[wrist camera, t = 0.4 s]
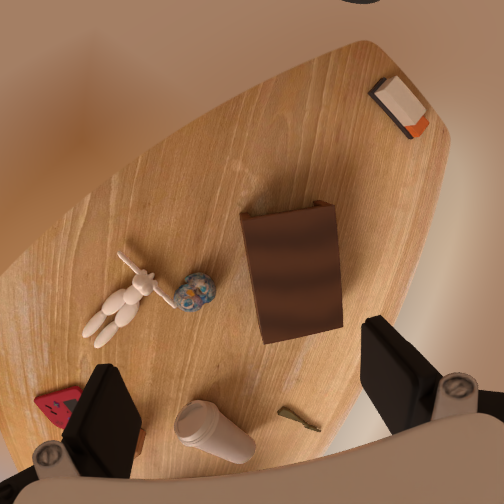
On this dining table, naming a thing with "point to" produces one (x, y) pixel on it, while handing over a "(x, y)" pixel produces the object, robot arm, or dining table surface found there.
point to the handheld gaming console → (59, 405)
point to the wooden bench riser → (294, 271)
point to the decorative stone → (195, 292)
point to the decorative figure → (115, 301)
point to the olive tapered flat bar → (295, 418)
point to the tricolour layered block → (400, 106)
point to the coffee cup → (213, 432)
